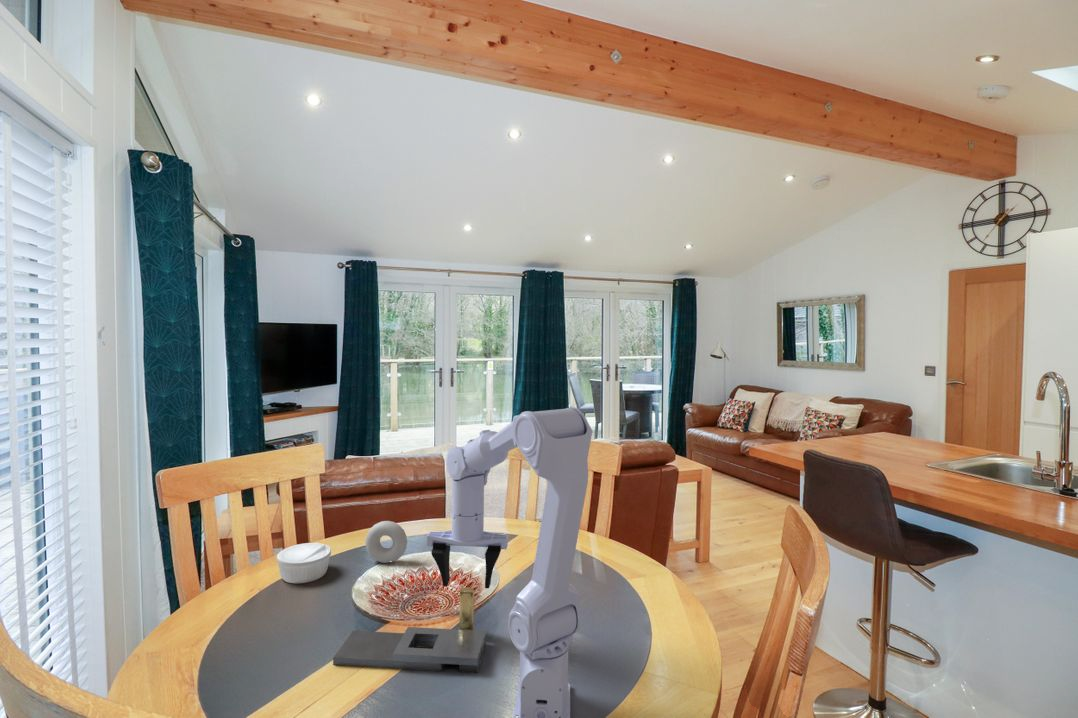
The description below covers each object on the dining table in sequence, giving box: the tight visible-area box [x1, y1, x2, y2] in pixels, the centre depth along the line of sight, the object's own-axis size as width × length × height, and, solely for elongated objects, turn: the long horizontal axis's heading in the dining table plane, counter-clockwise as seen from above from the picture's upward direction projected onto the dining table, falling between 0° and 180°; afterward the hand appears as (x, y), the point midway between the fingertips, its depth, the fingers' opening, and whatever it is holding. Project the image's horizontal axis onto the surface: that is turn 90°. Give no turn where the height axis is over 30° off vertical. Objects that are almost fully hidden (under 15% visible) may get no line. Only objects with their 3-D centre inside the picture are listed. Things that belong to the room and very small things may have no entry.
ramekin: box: [276, 542, 332, 584], centre depth 119 cm, size 11×11×5 cm
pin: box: [458, 586, 475, 630], centre depth 96 cm, size 3×3×8 cm
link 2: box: [393, 626, 487, 674], centre depth 90 cm, size 8×14×2 cm, turn 86°
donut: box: [364, 520, 408, 564], centre depth 126 cm, size 10×3×10 cm, turn 87°
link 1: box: [332, 630, 444, 672], centre depth 90 cm, size 8×18×1 cm, turn 86°
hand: (466, 584), depth 96 cm, fingers open, 7 cm apart
